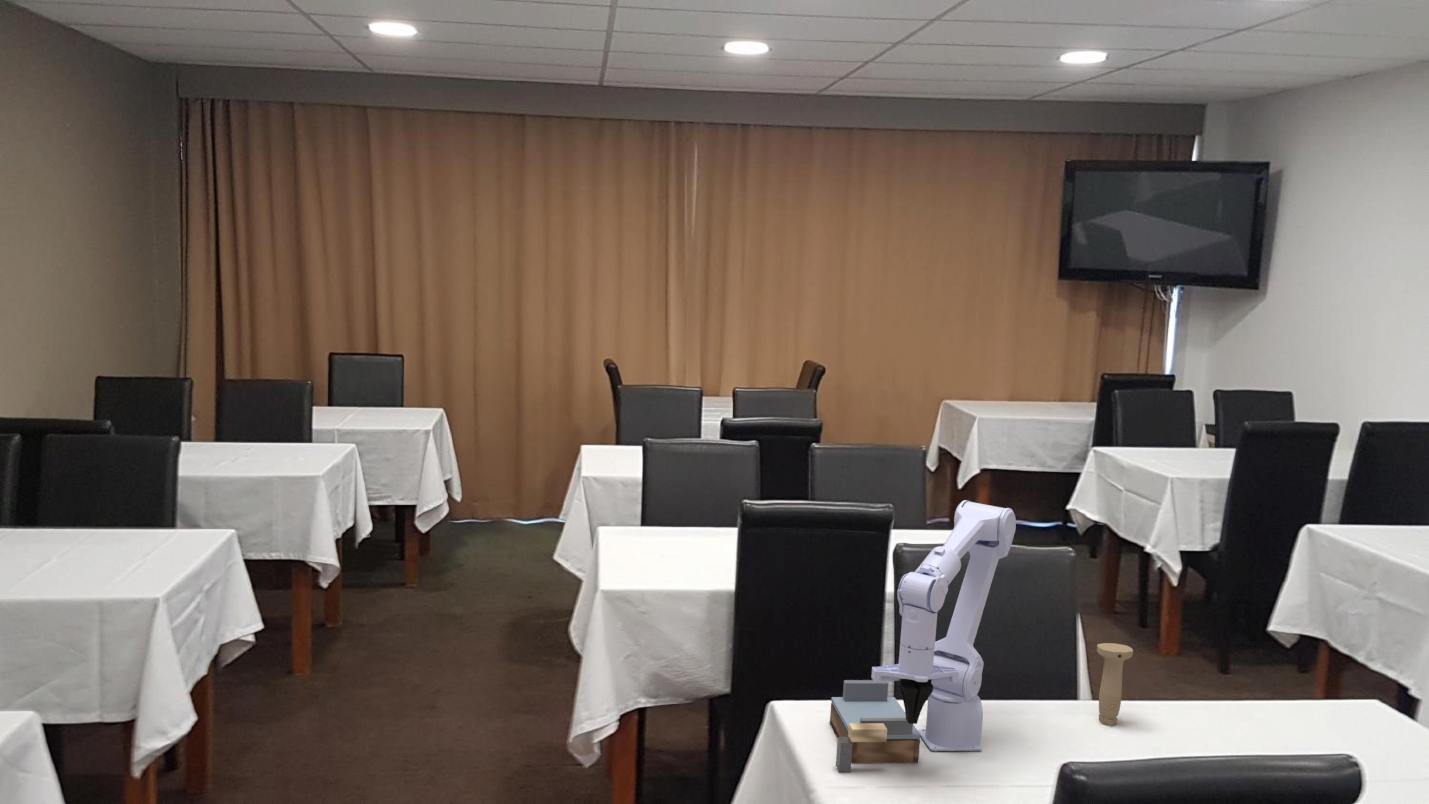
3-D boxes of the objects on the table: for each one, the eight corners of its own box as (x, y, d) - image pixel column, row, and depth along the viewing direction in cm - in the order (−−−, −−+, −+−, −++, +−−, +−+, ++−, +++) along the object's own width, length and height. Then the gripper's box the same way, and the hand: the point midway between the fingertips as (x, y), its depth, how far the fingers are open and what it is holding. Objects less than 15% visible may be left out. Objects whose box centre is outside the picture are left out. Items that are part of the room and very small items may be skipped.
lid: (894, 701, 202) (895, 679, 201) (920, 738, 186) (921, 715, 185) (831, 701, 200) (832, 678, 200) (852, 739, 184) (853, 715, 184)
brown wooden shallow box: (892, 723, 202) (894, 702, 202) (918, 762, 186) (919, 740, 186) (829, 723, 201) (831, 702, 200) (850, 763, 185) (851, 740, 185)
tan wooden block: (882, 735, 184) (883, 723, 184) (886, 741, 182) (887, 729, 181) (848, 735, 183) (849, 723, 183) (851, 741, 181) (852, 729, 181)
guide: (847, 765, 184) (849, 736, 183) (850, 772, 182) (852, 743, 181) (835, 765, 184) (837, 736, 183) (838, 772, 181) (840, 743, 181)
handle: (1129, 728, 205) (1137, 652, 203) (1095, 727, 205) (1103, 651, 203) (1119, 718, 210) (1126, 643, 208) (1086, 716, 210) (1093, 642, 208)
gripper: (881, 652, 176) (875, 731, 178) (967, 652, 178) (960, 731, 180) (870, 637, 183) (865, 713, 185) (953, 638, 185) (946, 713, 187)
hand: (911, 721), depth 183 cm, fingers closed
